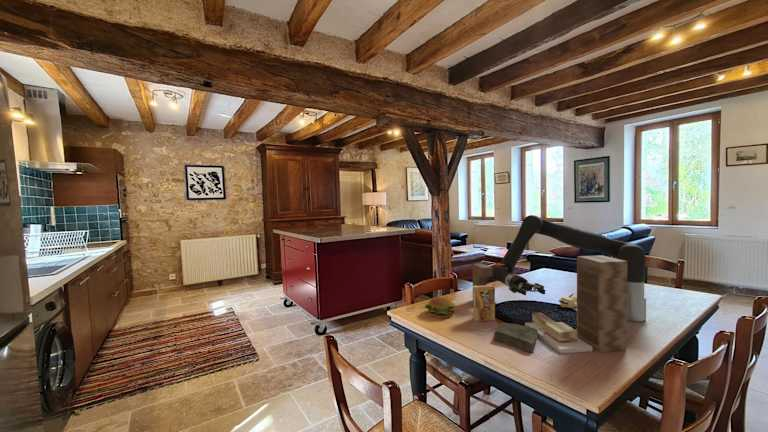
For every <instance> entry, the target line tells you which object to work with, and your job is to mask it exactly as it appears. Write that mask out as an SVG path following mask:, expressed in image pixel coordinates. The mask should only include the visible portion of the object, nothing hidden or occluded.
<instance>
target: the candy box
mask: <svg viewBox="0 0 768 432" xmlns="http://www.w3.org/2000/svg"><path fill="white" fill-rule="evenodd" d="M495 293H496V287H495V286H494V285H490V284H489V285H488V284H487V285H482V286H473V285H472V309H473V312H472V313H473V314H472V316H473V317H472V318H473V319H474V321H475V322H484V321H487V322H488V321H496V301H495V300H496V297H495V296H496V295H495Z"/></svg>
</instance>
